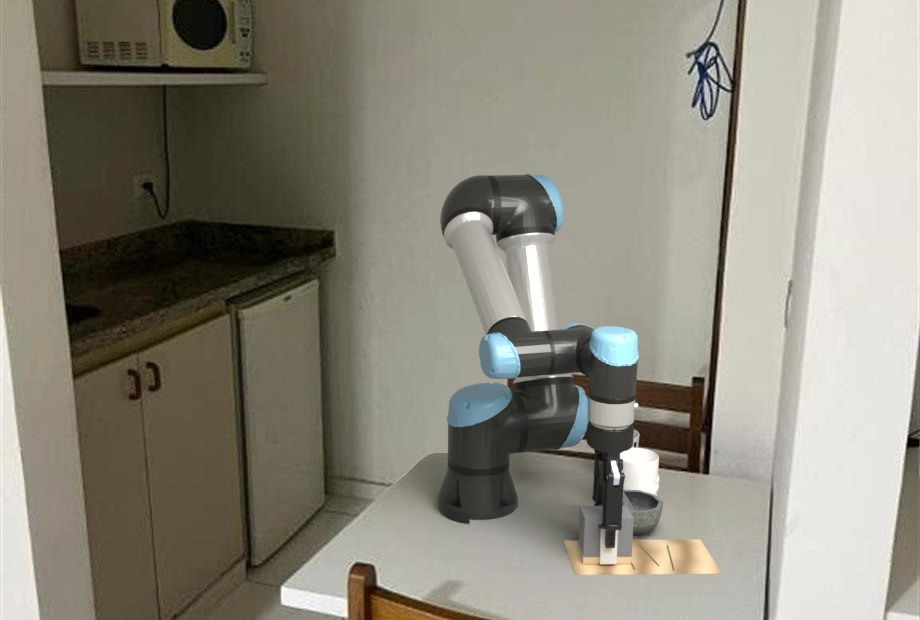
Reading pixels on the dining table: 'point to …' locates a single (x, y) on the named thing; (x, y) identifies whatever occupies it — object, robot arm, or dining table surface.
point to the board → (651, 559)
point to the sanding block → (591, 533)
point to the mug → (640, 470)
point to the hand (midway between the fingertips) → (604, 554)
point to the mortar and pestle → (643, 511)
